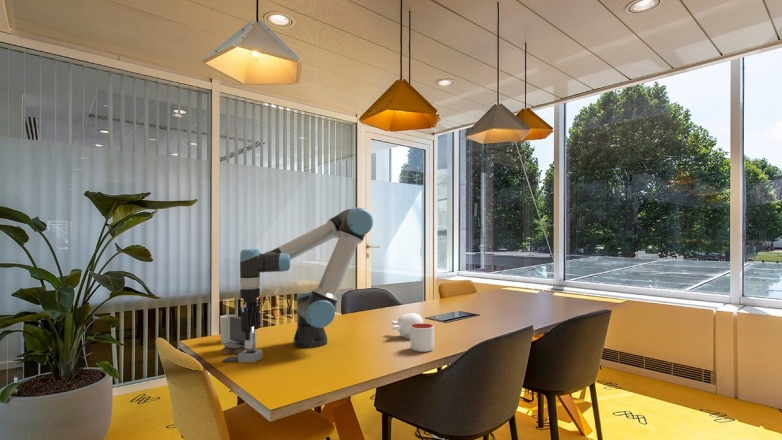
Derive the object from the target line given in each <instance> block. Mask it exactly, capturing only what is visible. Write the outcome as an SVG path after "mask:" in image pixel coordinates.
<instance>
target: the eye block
mask: <svg viewBox="0 0 782 440" xmlns="http://www.w3.org/2000/svg"><path fill="white" fill-rule="evenodd" d="M263 353H264V351H263V349H254V353H253V354H249V353H247V349H246V350H244V351H243V352H241V353H239V354H237V357H238V361H237V363H256V362H258V361H260V360H261V359H262V358H263V357H264V354H263Z"/></svg>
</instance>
